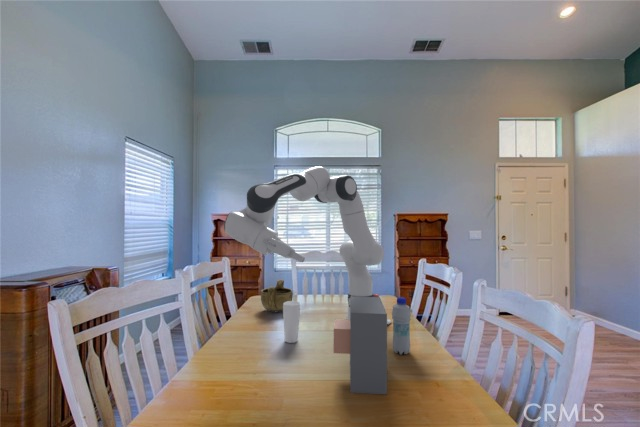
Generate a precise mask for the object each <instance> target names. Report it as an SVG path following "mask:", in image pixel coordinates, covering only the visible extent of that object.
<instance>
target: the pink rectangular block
mask: <svg viewBox="0 0 640 427" xmlns="http://www.w3.org/2000/svg"><path fill="white" fill-rule="evenodd" d="M350 337H351V328H350V320H346V319H334V325H333V354H345V355H350Z"/></svg>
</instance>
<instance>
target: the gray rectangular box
mask: <svg viewBox="0 0 640 427" xmlns="http://www.w3.org/2000/svg"><path fill="white" fill-rule="evenodd" d="M381 299H382V298H381V297H380V296H379V297H358V296H350V328H351V337H350V354H349V374H350V375H349V380H350V382H349V384H350V385H349V386H350V388H349V389H350V392H349V393H353V394H354V393H355V394H368V395H369V394H370V395H371V394H373V395H374V394H375V395H388V325H387V318H388V313H387V311H386V308H385V307H384V304H383V302H382V300H381Z"/></svg>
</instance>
